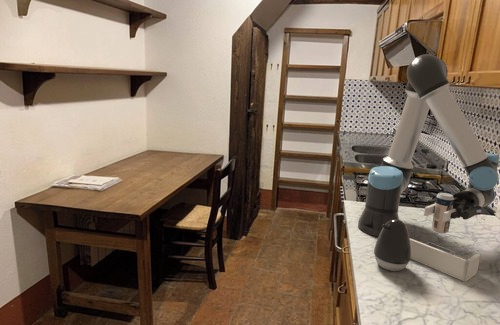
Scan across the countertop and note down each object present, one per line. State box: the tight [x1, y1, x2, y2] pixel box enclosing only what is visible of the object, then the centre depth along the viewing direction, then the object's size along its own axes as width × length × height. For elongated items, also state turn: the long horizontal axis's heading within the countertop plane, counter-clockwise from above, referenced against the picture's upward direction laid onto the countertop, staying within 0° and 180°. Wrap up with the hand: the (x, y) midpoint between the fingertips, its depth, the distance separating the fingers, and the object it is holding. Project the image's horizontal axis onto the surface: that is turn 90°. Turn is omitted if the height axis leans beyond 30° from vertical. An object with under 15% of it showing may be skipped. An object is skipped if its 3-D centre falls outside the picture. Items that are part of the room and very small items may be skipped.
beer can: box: [431, 192, 454, 234], centre depth 110 cm, size 5×5×12 cm
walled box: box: [409, 237, 481, 282], centre depth 113 cm, size 11×24×6 cm, turn 38°
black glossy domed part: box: [373, 218, 412, 272], centre depth 106 cm, size 10×10×15 cm
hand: (434, 214), depth 107 cm, fingers closed on beer can, 5 cm apart
